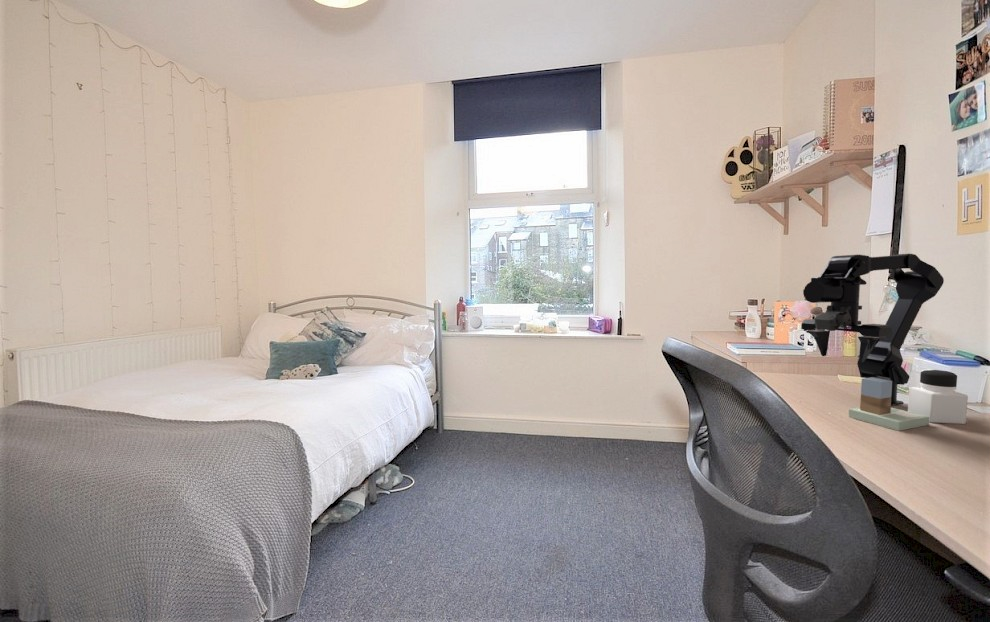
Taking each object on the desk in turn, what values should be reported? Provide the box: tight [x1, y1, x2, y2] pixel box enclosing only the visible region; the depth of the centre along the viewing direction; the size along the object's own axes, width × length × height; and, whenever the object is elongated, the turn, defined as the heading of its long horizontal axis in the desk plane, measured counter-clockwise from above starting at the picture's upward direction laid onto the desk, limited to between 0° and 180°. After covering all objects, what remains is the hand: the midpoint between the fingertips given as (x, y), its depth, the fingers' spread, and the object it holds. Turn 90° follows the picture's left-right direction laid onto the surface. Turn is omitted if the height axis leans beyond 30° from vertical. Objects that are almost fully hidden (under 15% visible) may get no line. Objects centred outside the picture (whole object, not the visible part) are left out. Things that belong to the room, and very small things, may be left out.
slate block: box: [860, 377, 892, 399], centre depth 99 cm, size 4×4×4 cm
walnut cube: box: [859, 394, 892, 415], centre depth 99 cm, size 4×4×4 cm
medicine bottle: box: [907, 369, 969, 425], centre depth 99 cm, size 7×7×12 cm
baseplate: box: [848, 407, 930, 432], centre depth 98 cm, size 11×10×2 cm
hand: (841, 358), depth 109 cm, fingers open, 9 cm apart
